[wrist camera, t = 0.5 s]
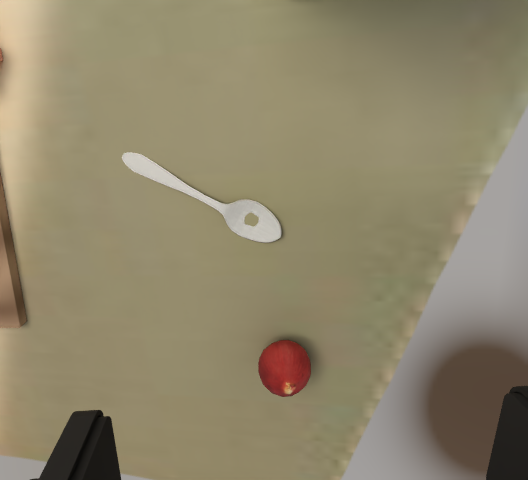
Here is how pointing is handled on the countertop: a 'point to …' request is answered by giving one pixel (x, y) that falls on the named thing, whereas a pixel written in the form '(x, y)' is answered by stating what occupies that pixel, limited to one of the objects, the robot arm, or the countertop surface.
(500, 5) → the countertop surface
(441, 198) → the countertop surface
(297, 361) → the onion
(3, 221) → the gear board
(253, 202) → the spoon
